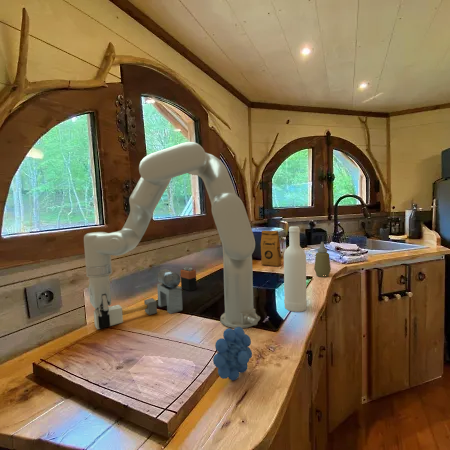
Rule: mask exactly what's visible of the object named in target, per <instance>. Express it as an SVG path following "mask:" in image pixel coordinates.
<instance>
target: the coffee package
mask: <svg viewBox="0 0 450 450" xmlns="http://www.w3.org/2000/svg"><path fill="white" fill-rule="evenodd" d="M260 237H261V240H260V256H261V259H260V260H261V261H260V263H261V264H260V265H263V266H270V267H280V266H282V253H281V252H282V251H281V242H280V235H279V231H278V230H261V236H260Z"/></svg>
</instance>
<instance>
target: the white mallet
mask: <svg viewBox="0 0 450 450" xmlns="http://www.w3.org/2000/svg"><path fill="white" fill-rule="evenodd" d="M143 301H144V304H141V305H138V306H135V307H131V308H130V307H129V308H127V309H123V307H122V306H121V305H120V304H116V305H112V306H111V305H110V306H108V308H109V317H110V326H109V327H112V326H115V325H118V324H122V323H124V318H123V316H125V315H128V314H133V313H137V312H140V311H144V312H145V313H146V314H147V315H149V316H150V315H154V314H157V313H158V309H157V308H158V306H157V305H158V303H157V300H156V299H154V298H151V297H150V298H147V299H144V300H143ZM102 310H103V308H102V309H101V311H102ZM98 316H99V309H98V310H93V320H94V321H93V322H94V327H95V328H96V330H101V329H100V328H99V319H98Z"/></svg>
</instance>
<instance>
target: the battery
mask: <svg viewBox="0 0 450 450" xmlns="http://www.w3.org/2000/svg"><path fill="white" fill-rule="evenodd" d="M180 287H182V290H184V291H185V290H186V291H188V292H191V291H195V290H197V289H198V288H197V271H196V269H193V268H192V267H186V266H185V267H184V268H182V269H180Z"/></svg>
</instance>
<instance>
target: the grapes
mask: <svg viewBox="0 0 450 450" xmlns="http://www.w3.org/2000/svg"><path fill="white" fill-rule="evenodd" d="M222 336H223V338H219V339H217V340H216V342H215V345H214V346H215V350H216V351H217V353H215V355H214V356H213V358H212V362H213V365H214V367H216V368H217V374H218V376H219V378H221V379H222V380H225V379H229V380H231V381H236V380H237V379H238V378H239V377H240V374H242V373H246V372H247V370H248V366H249V365H248V363H249V362H250V359H251V358H252V356H253V352H252V349H251V348H250V346H251V344H252V340H251V339H252V338H251V337H250V335H249V334H246V333H245V330H244V328H241V327H236V328H231V327H227V328H226V329H224V331H223V335H222Z"/></svg>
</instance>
